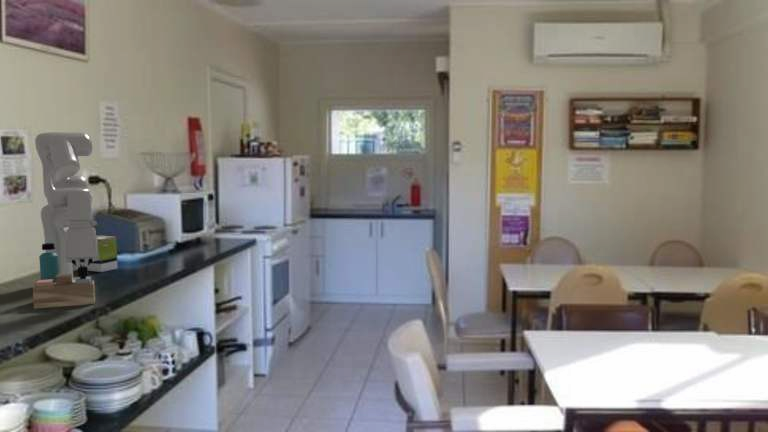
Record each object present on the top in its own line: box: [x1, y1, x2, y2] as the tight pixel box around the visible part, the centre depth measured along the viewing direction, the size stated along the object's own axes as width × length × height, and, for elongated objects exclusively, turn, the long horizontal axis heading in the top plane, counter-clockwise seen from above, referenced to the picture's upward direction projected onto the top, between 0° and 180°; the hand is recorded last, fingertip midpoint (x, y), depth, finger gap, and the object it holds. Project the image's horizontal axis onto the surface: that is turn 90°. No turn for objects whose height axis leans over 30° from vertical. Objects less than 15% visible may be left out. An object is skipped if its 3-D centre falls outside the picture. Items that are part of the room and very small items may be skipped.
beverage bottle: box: [38, 242, 60, 283], centre depth 248 cm, size 6×7×20 cm
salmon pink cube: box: [35, 279, 53, 287], centre depth 238 cm, size 5×5×5 cm
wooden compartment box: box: [32, 280, 96, 309], centre depth 240 cm, size 7×19×7 cm, turn 109°
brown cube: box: [56, 274, 72, 286], centre depth 239 cm, size 5×5×5 cm
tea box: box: [75, 234, 118, 273], centre depth 310 cm, size 15×10×15 cm, turn 68°
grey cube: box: [75, 276, 92, 285], centre depth 242 cm, size 5×5×5 cm
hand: (83, 278), depth 241 cm, fingers closed
